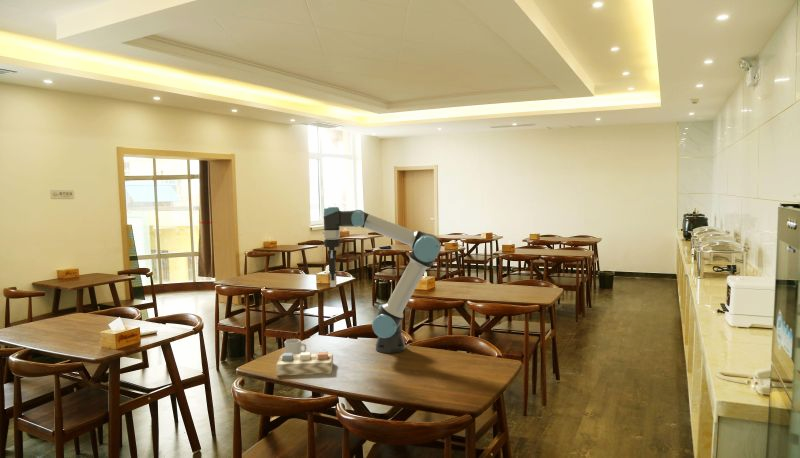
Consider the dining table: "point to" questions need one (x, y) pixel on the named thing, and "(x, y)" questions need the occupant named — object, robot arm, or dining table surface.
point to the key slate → (287, 357)
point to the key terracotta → (322, 355)
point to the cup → (294, 346)
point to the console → (304, 365)
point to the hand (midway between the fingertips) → (333, 286)
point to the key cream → (305, 356)
